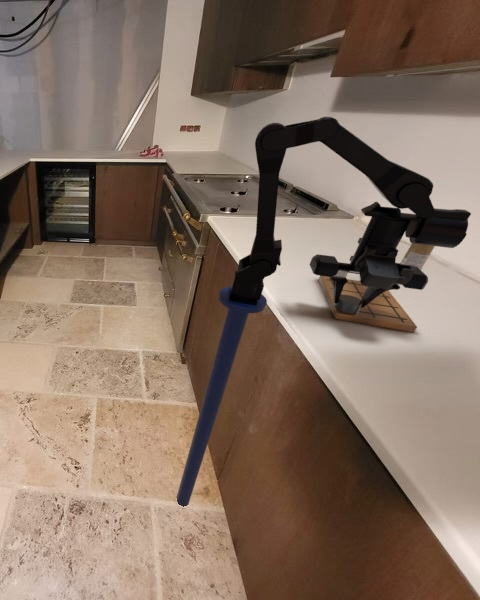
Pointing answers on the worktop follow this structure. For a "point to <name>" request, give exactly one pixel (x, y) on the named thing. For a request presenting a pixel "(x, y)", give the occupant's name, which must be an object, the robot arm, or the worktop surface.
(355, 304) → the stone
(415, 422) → the worktop surface
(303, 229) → the worktop surface
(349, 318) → the board
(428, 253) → the sprinkles bottle
